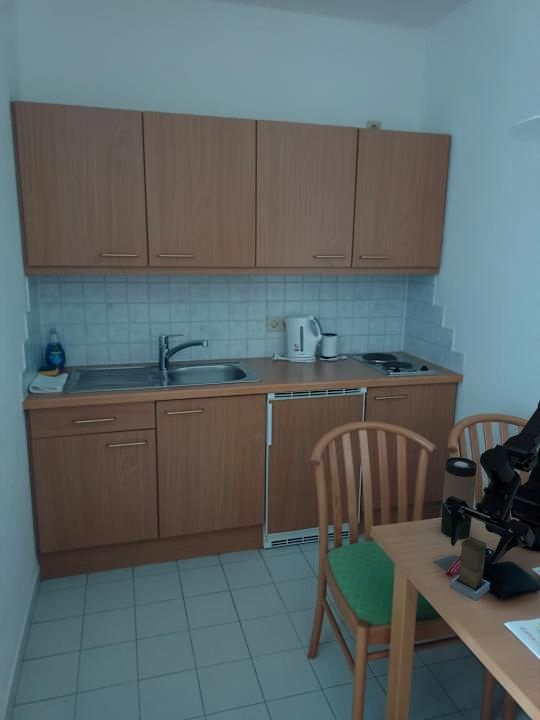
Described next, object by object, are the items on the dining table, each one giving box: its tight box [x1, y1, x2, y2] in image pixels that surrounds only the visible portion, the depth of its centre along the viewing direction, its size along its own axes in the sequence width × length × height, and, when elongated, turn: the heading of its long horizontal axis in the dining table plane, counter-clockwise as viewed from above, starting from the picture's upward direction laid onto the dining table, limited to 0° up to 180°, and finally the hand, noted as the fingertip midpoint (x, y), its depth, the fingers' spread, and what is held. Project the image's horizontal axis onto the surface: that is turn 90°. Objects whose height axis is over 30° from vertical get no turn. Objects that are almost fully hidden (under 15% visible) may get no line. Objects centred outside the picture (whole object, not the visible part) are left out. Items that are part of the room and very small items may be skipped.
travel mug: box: [440, 456, 478, 540], centre depth 137 cm, size 8×8×20 cm
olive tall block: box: [459, 535, 487, 592], centre depth 114 cm, size 4×4×11 cm
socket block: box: [449, 575, 491, 602], centre depth 115 cm, size 6×6×2 cm
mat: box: [432, 554, 460, 578], centre depth 124 cm, size 7×7×1 cm
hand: (471, 554), depth 113 cm, fingers open, 9 cm apart
